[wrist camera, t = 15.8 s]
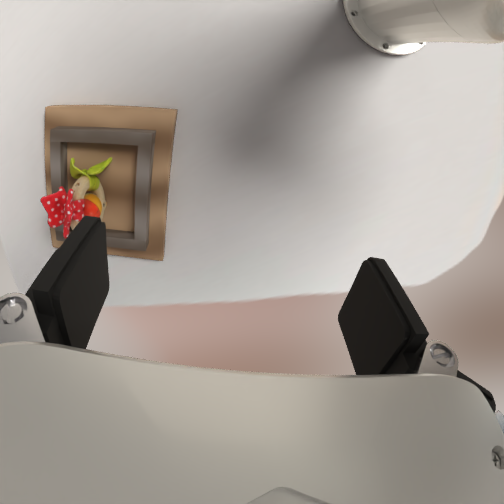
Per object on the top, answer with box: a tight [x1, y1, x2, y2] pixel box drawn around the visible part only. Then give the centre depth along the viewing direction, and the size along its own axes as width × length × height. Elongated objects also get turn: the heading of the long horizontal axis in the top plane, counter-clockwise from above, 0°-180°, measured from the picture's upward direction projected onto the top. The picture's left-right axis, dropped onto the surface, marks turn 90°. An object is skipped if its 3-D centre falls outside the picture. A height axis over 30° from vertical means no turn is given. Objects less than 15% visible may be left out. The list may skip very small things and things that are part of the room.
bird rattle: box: [41, 157, 112, 239], centre depth 32 cm, size 6×11×9 cm
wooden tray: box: [45, 105, 177, 261], centre depth 36 cm, size 20×17×4 cm
